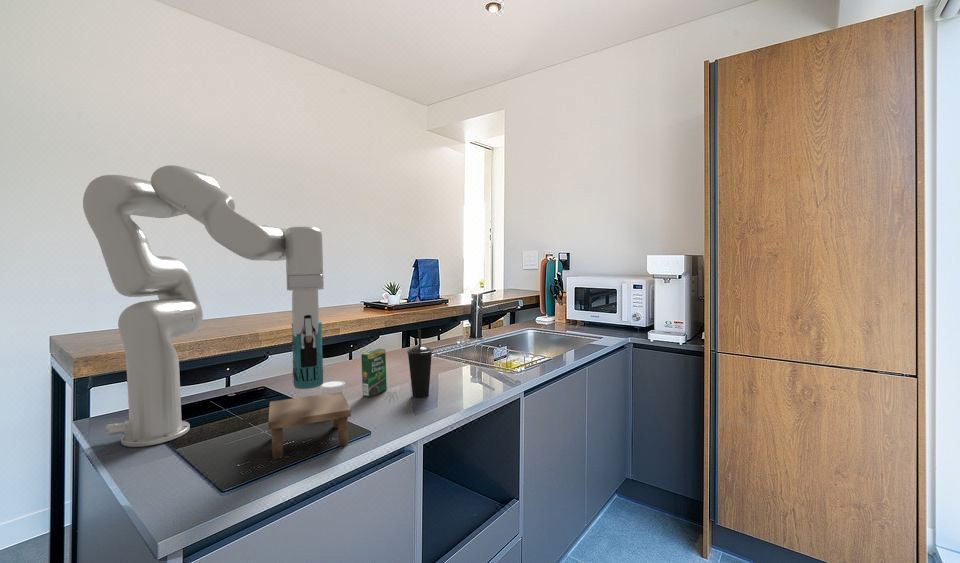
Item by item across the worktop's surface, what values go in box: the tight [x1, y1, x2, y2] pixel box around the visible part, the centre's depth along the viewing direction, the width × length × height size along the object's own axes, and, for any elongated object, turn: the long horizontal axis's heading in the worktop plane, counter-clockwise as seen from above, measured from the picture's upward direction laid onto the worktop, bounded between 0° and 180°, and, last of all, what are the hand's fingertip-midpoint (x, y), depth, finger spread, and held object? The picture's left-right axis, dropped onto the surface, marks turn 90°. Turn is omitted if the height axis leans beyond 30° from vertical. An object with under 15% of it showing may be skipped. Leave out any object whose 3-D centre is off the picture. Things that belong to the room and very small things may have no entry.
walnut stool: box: [267, 392, 352, 460], centre depth 93 cm, size 16×14×8 cm
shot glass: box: [318, 380, 346, 398], centre depth 113 cm, size 7×7×7 cm
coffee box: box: [361, 348, 388, 398], centre depth 126 cm, size 8×3×13 cm, turn 150°
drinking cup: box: [406, 328, 434, 399], centre depth 124 cm, size 8×8×20 cm
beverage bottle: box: [291, 319, 324, 390], centre depth 92 cm, size 6×7×20 cm
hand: (307, 362), depth 93 cm, fingers closed on beverage bottle, 6 cm apart
